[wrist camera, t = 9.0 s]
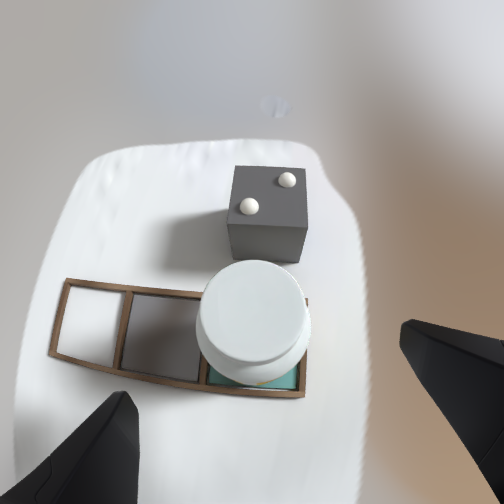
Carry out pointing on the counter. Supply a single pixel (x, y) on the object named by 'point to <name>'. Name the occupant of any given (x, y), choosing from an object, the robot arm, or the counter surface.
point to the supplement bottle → (253, 322)
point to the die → (268, 213)
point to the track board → (167, 342)
